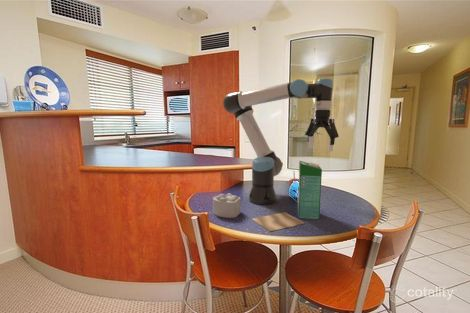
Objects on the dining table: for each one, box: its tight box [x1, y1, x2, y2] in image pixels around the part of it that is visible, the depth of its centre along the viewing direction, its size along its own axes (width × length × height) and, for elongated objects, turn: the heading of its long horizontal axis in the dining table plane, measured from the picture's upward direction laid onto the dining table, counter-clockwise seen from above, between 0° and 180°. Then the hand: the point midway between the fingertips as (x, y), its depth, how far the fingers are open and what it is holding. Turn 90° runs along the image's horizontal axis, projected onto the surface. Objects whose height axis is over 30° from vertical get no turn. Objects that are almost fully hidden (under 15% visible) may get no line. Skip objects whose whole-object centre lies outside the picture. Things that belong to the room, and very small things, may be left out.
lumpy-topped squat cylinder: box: [212, 192, 242, 219], centre depth 117 cm, size 10×13×9 cm
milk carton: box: [297, 160, 323, 220], centre depth 113 cm, size 9×9×25 cm
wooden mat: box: [251, 211, 306, 233], centre depth 107 cm, size 18×14×1 cm
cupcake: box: [288, 171, 299, 187], centre depth 156 cm, size 9×8×12 cm
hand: (320, 149), depth 132 cm, fingers open, 13 cm apart
